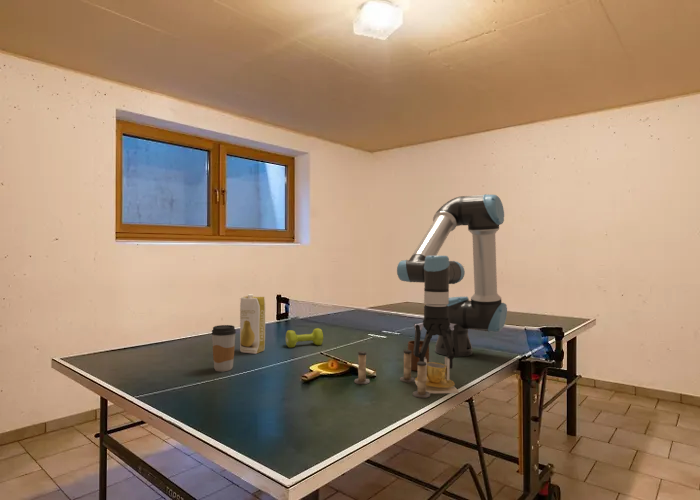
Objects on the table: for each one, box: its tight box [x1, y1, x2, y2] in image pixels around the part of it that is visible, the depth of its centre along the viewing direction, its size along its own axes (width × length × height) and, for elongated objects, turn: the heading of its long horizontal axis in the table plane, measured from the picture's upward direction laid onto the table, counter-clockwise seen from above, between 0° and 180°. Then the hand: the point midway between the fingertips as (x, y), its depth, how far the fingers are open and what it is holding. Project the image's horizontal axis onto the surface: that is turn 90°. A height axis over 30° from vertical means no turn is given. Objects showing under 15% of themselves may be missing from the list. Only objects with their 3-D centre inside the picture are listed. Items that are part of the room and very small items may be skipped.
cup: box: [414, 361, 455, 387], centre depth 133 cm, size 12×12×5 cm
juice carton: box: [239, 293, 266, 355], centre depth 178 cm, size 9×8×24 cm
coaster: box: [414, 379, 459, 394], centre depth 133 cm, size 11×11×1 cm
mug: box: [407, 340, 430, 372], centre depth 152 cm, size 12×8×9 cm, turn 2°
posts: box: [354, 349, 431, 399], centre depth 132 cm, size 22×20×10 cm
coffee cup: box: [211, 324, 237, 373], centre depth 151 cm, size 8×8×15 cm
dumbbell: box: [285, 327, 324, 349], centre depth 190 cm, size 16×8×7 cm, turn 113°
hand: (435, 378), depth 133 cm, fingers closed on cup, 6 cm apart
